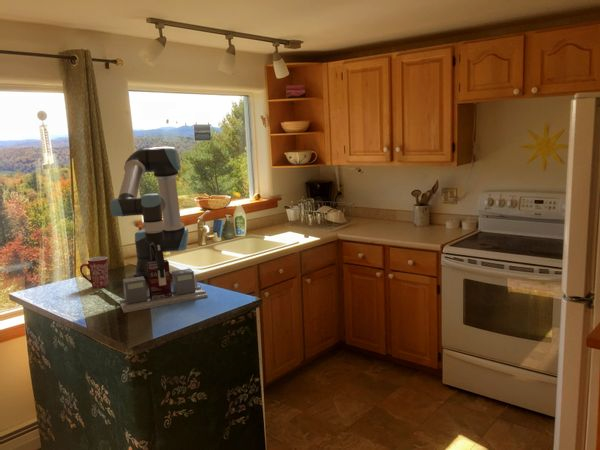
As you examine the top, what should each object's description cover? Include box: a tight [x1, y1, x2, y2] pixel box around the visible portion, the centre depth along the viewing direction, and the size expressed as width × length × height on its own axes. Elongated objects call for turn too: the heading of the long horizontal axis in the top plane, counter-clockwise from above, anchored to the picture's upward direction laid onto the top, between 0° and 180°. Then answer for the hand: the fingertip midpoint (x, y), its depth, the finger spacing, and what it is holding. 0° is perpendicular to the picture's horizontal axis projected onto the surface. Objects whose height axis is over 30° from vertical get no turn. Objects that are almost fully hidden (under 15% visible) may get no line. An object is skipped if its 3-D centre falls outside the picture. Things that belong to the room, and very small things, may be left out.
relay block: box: [194, 274, 198, 287], centre depth 228 cm, size 5×5×6 cm
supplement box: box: [146, 259, 172, 300], centre depth 210 cm, size 9×5×16 cm, turn 116°
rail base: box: [119, 268, 208, 314], centre depth 211 cm, size 13×34×11 cm, turn 116°
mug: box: [79, 256, 109, 289], centre depth 240 cm, size 13×9×14 cm
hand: (159, 281), depth 211 cm, fingers open, 13 cm apart
